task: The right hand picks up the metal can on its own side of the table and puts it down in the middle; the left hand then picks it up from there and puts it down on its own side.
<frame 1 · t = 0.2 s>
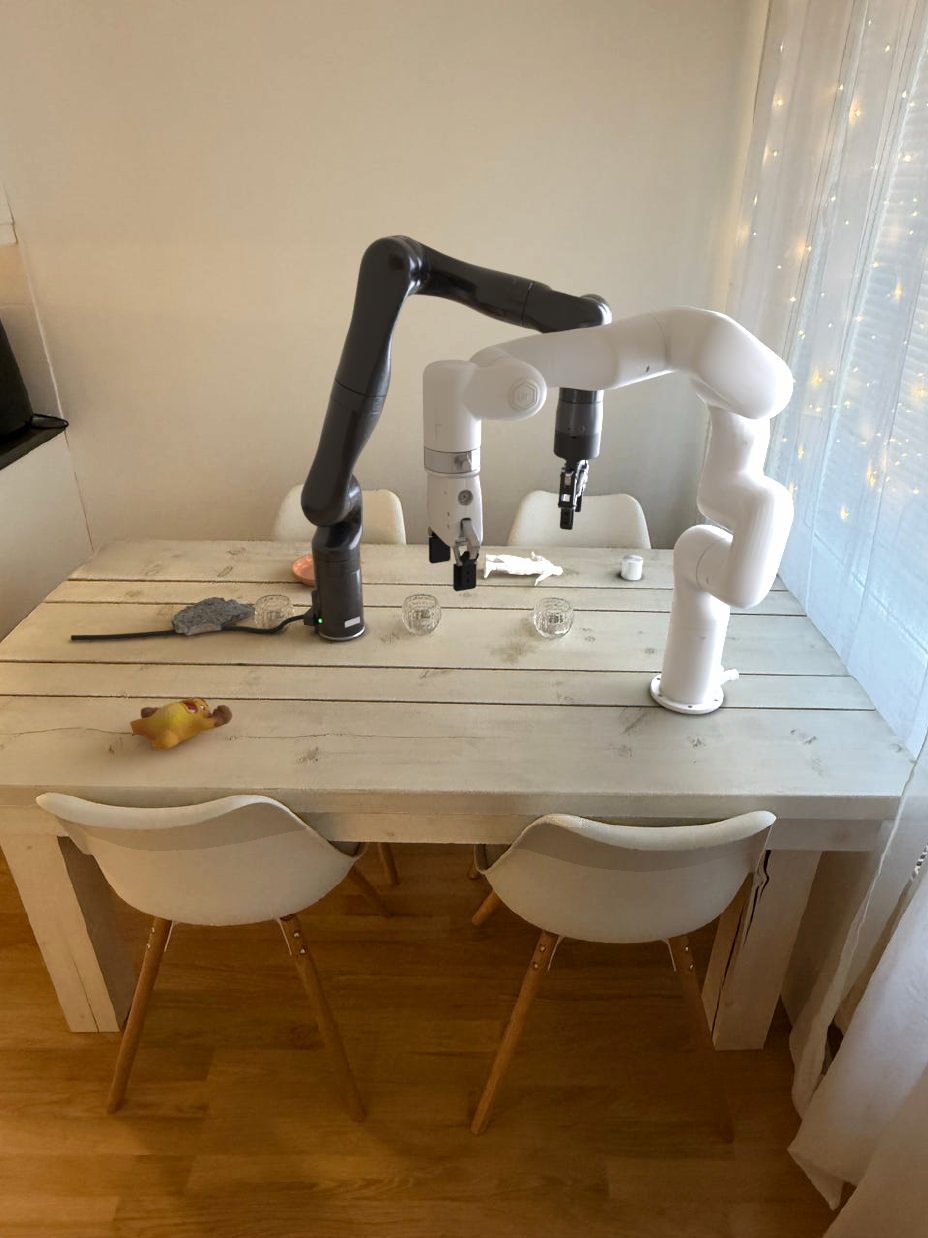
left hand: (570, 519, 140), 29 cm above the table, tool pointing down, fingers open, 8 cm apart
right hand: (451, 574, 116), 31 cm above the table, tool pointing down, fingers open, 9 cm apart
stone slab: (211, 622, 168), on the table
toy: (184, 734, 134), on the table
figurine: (522, 575, 189), on the table
saucer: (327, 577, 187), on the table
can: (631, 576, 189), on the table
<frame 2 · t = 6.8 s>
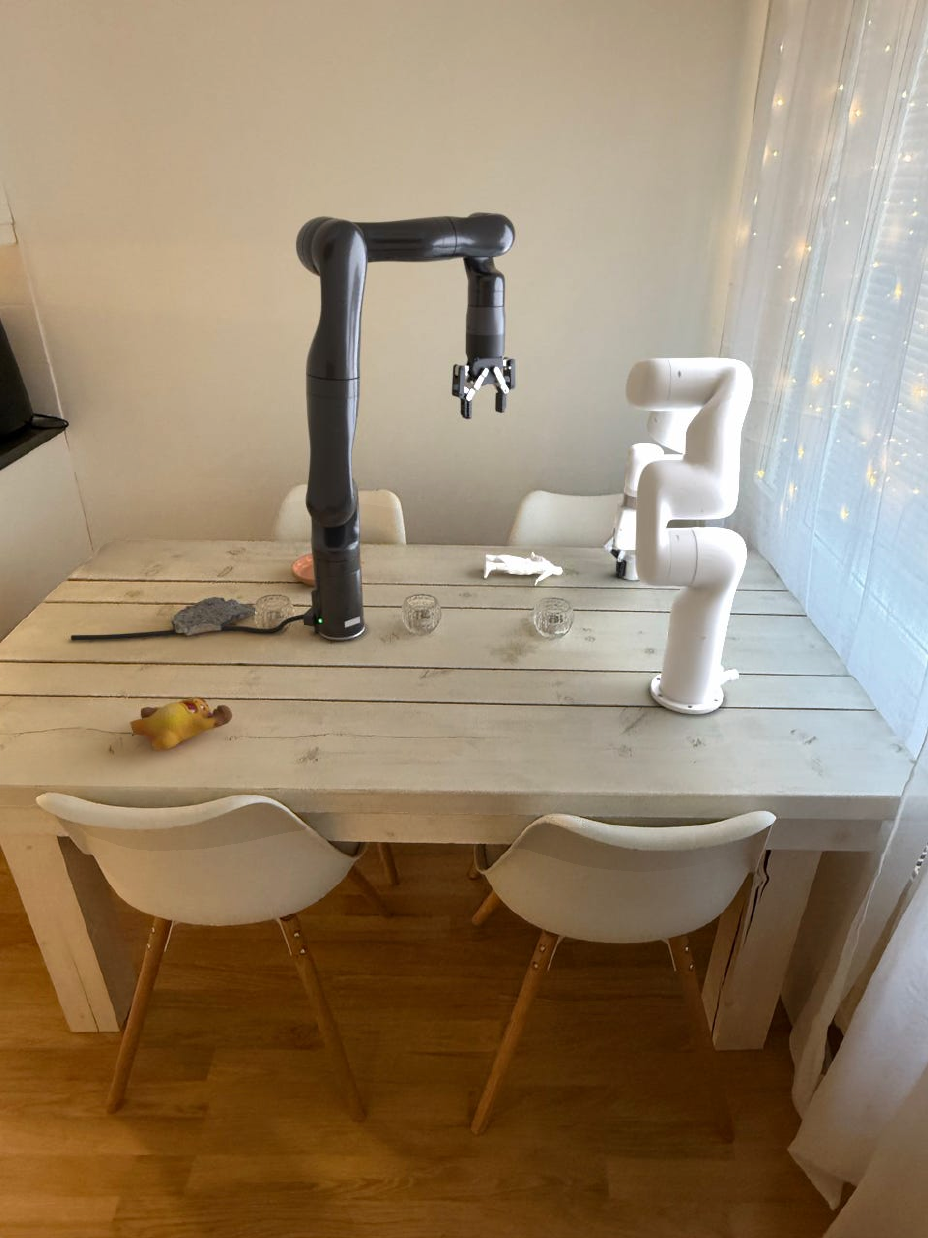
left hand: (483, 415, 162), 39 cm above the table, tool pointing down, fingers open, 8 cm apart
right hand: (631, 574, 189), 0 cm above the table, tool pointing down, fingers closed on can, 4 cm apart
can: (631, 576, 189), on the table, touching right hand
everything else where it was.
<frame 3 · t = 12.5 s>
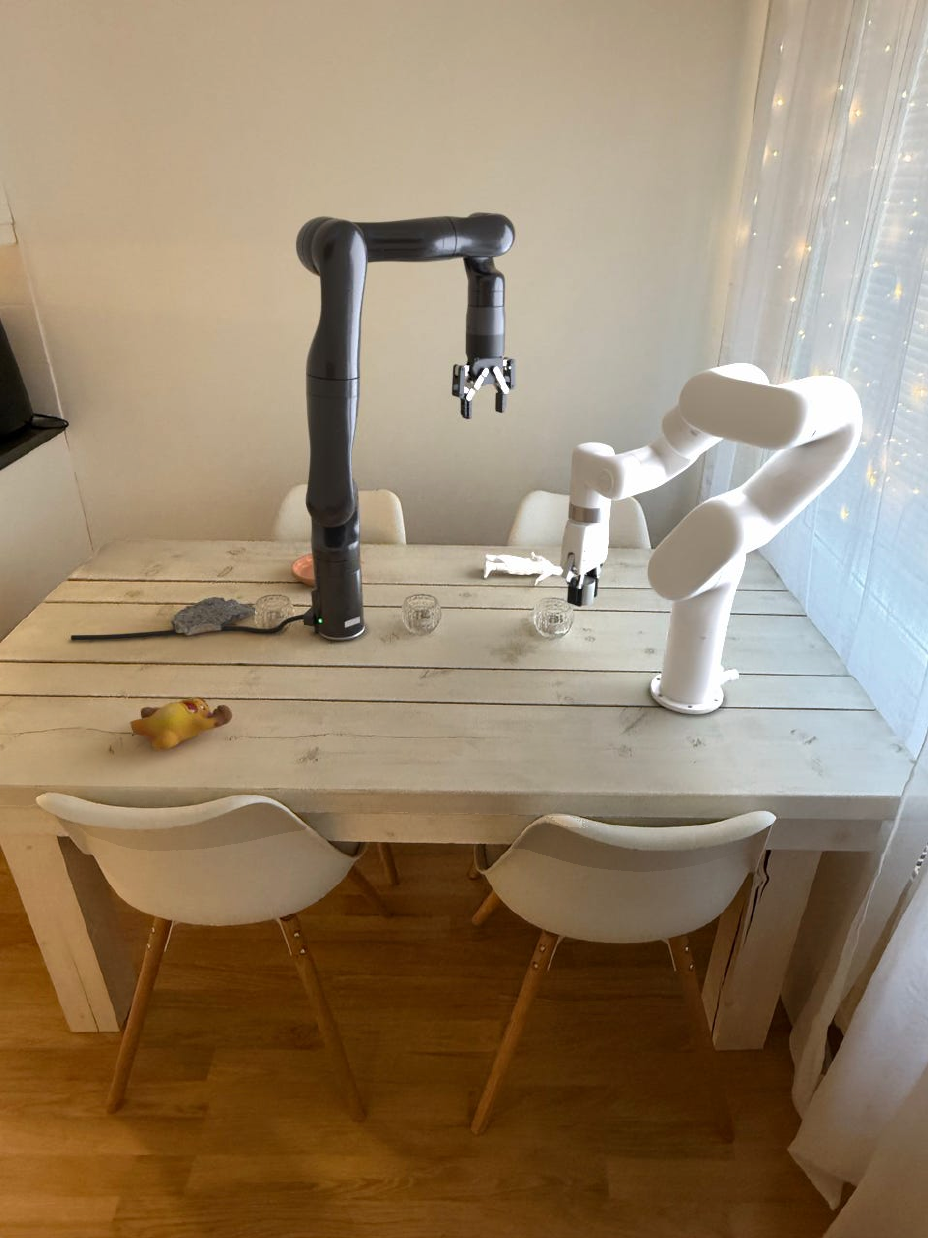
left hand: (483, 415, 162), 39 cm above the table, tool pointing down, fingers open, 8 cm apart
right hand: (582, 598, 159), 9 cm above the table, tool pointing down, fingers closed on can, 4 cm apart
can: (581, 600, 159), point 9 cm above the table, touching right hand
everything else where it was.
when the right hand's fingers open (1 cm above the table, at t = 18.6 s): can stays where it is, on the table.
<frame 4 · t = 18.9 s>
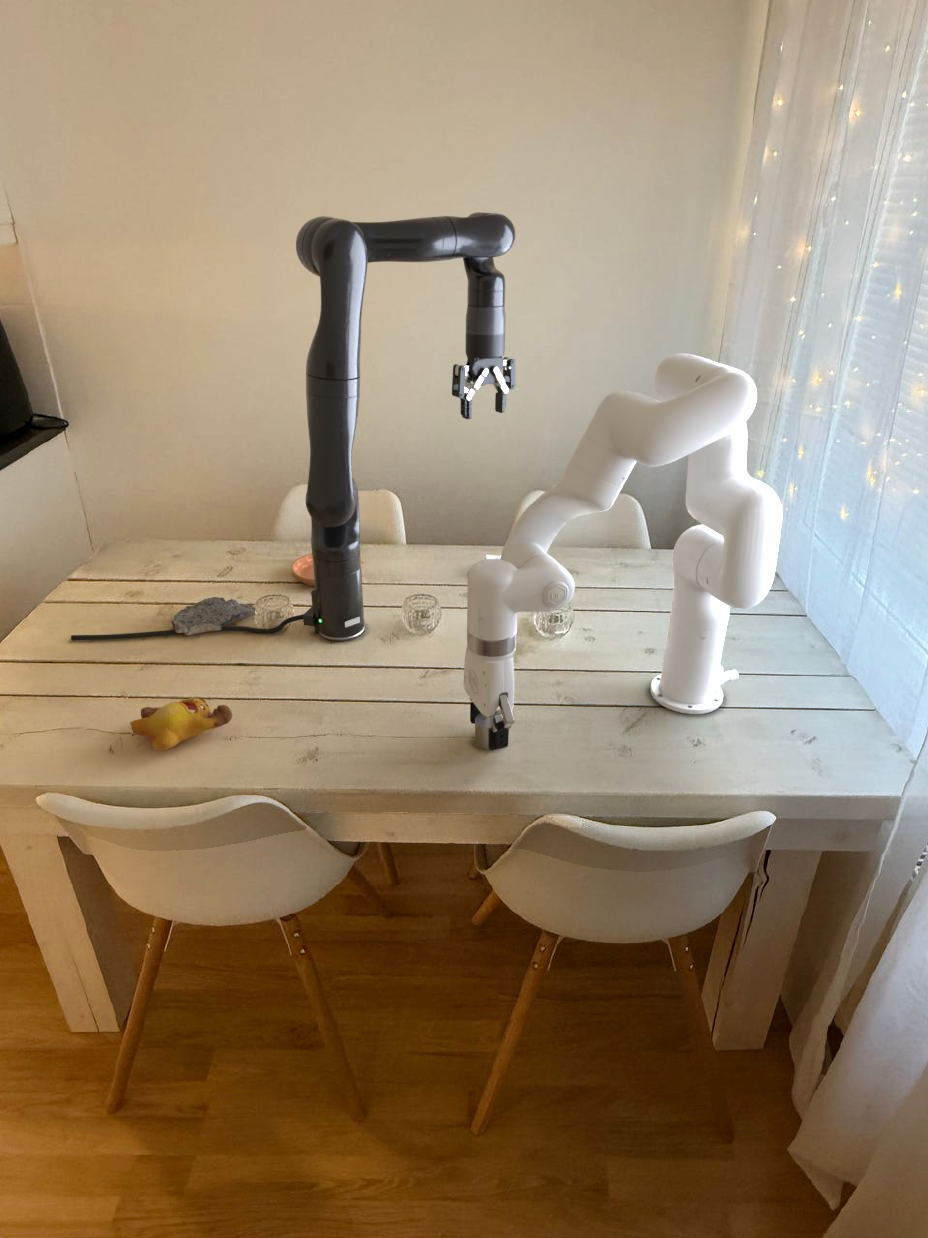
left hand: (483, 415, 162), 39 cm above the table, tool pointing down, fingers open, 8 cm apart
right hand: (488, 733, 132), 2 cm above the table, tool pointing down, fingers open, 7 cm apart
can: (488, 741, 133), on the table
everything else where it was.
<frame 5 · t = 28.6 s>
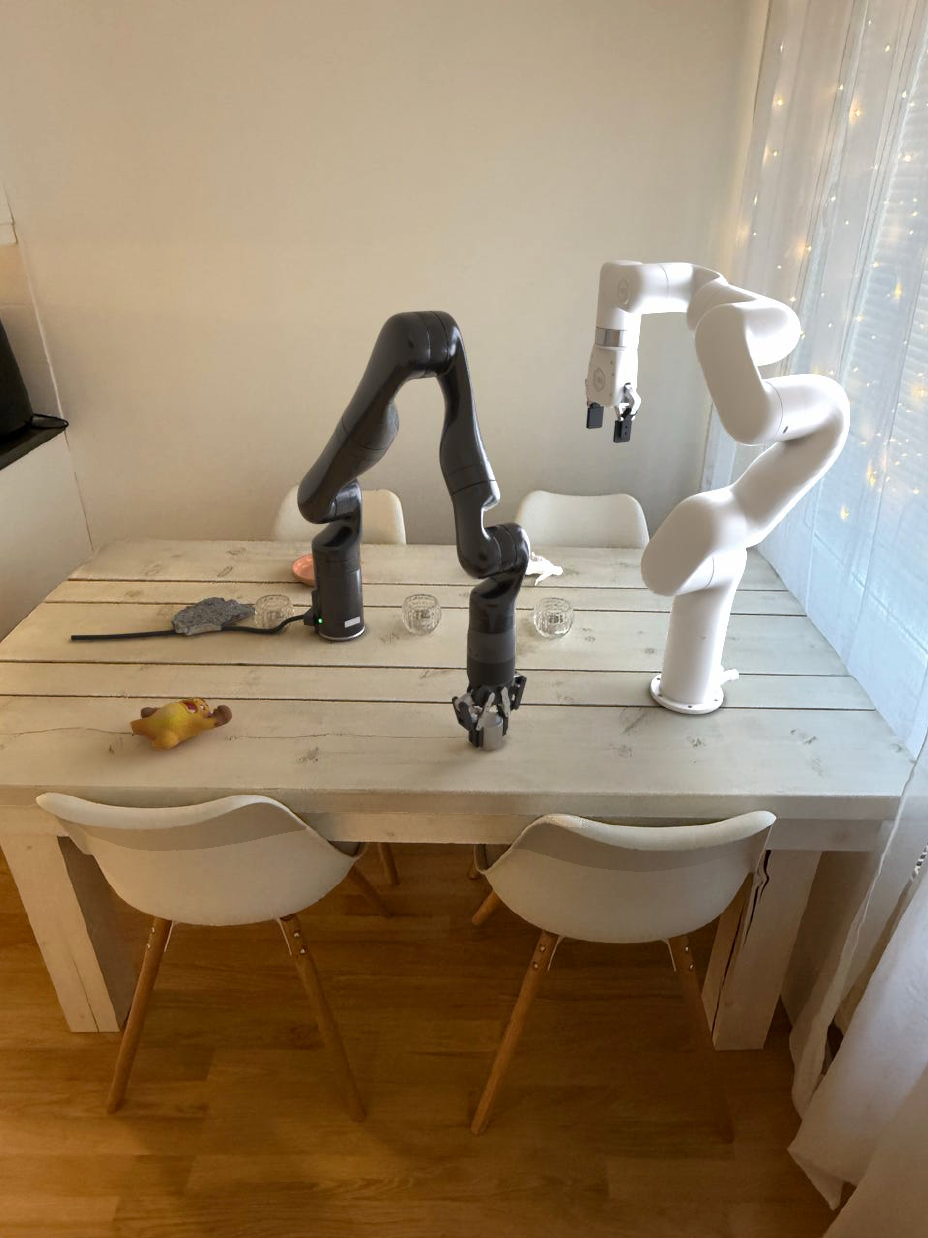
left hand: (488, 738, 133), 1 cm above the table, tool pointing down, fingers closed on can, 4 cm apart
right hand: (607, 434, 150), 40 cm above the table, tool pointing down, fingers open, 9 cm apart
can: (488, 741, 133), on the table, touching left hand
everything else where it was.
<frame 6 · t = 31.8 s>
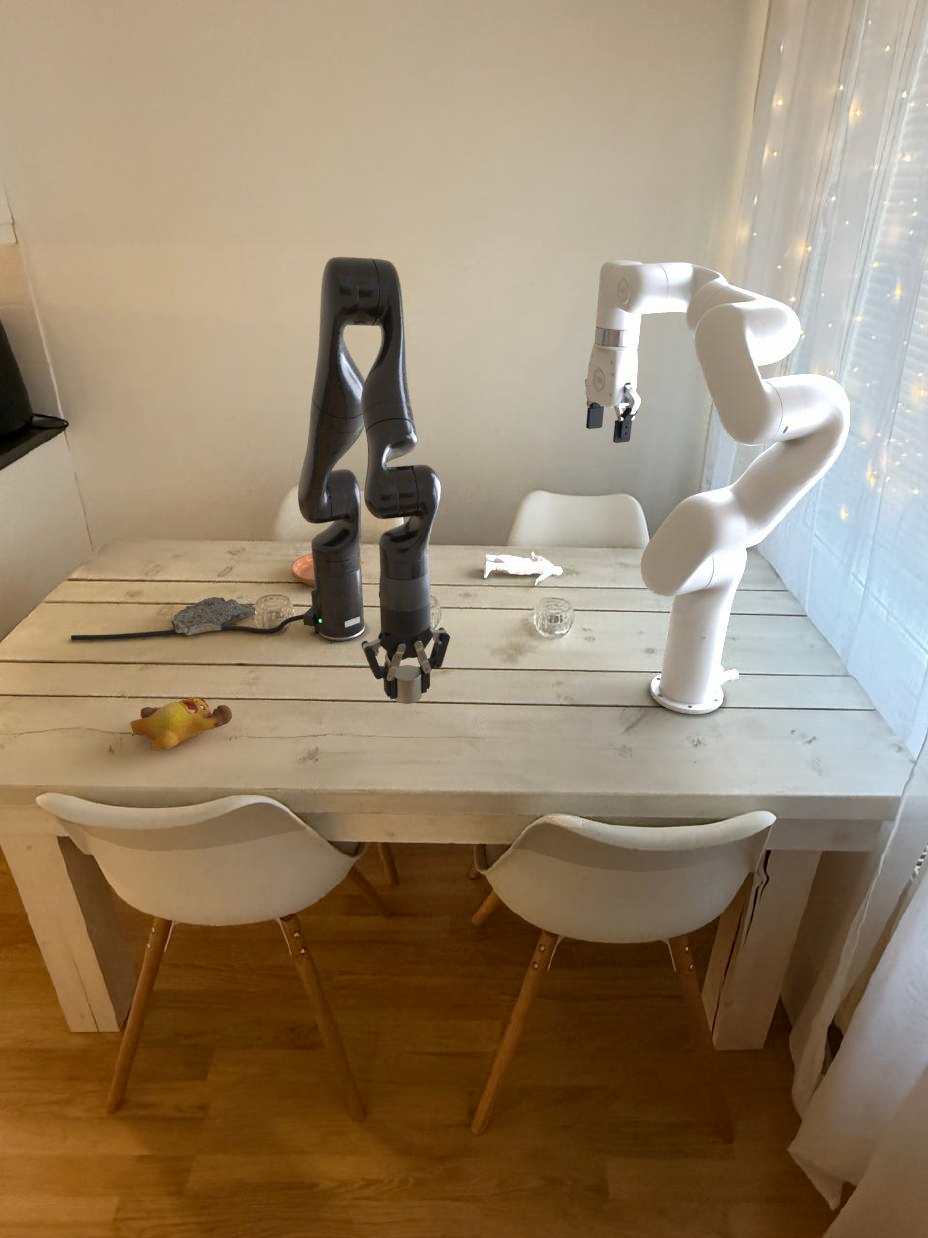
left hand: (407, 693, 129), 9 cm above the table, tool pointing down, fingers closed on can, 4 cm apart
right hand: (607, 434, 150), 40 cm above the table, tool pointing down, fingers open, 9 cm apart
can: (407, 696, 129), point 9 cm above the table, touching left hand
everything else where it was.
when the left hand's fingers open (1 cm above the table, at t = 35.4 s): can stays where it is, on the table.
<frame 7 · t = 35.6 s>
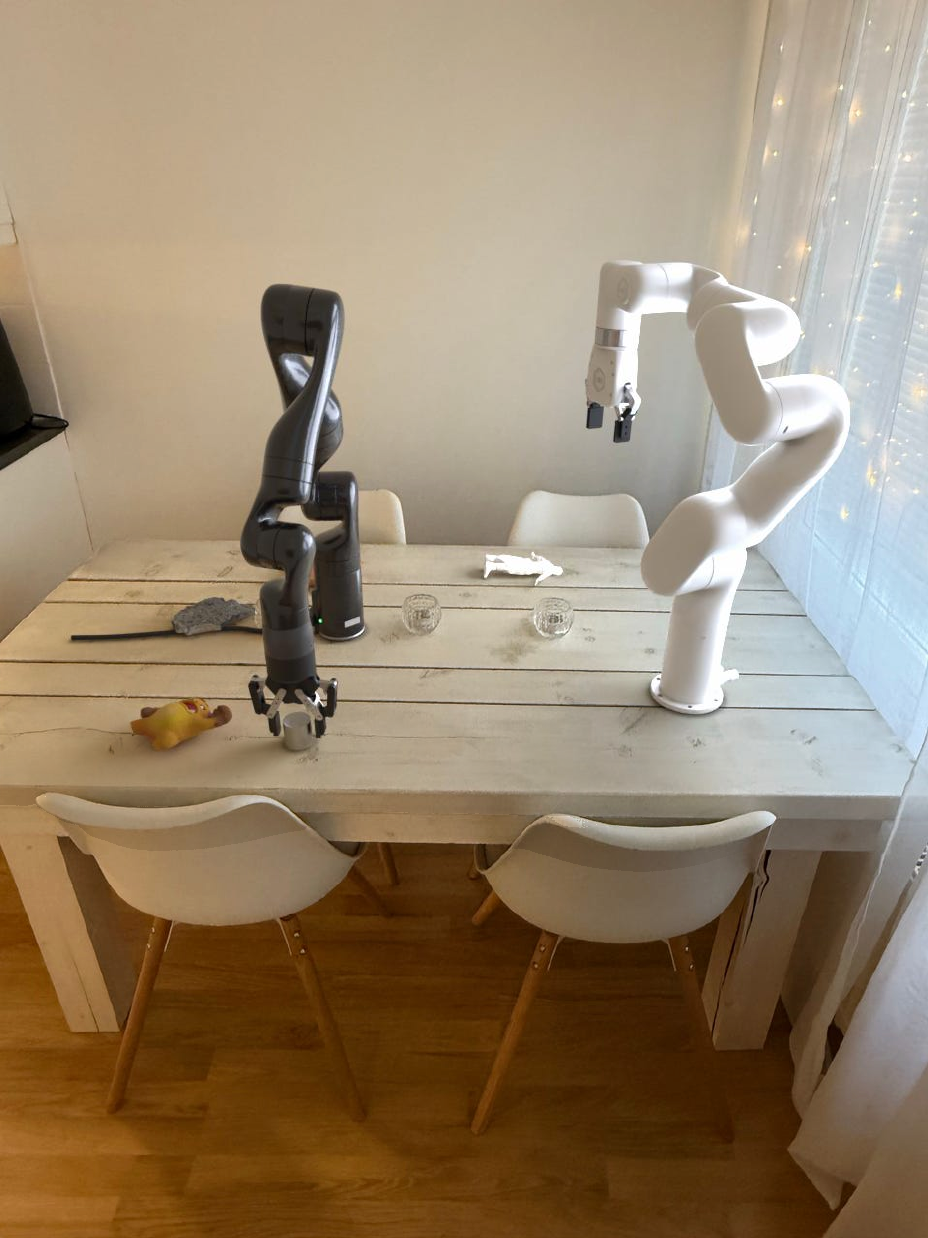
left hand: (298, 734, 132), 2 cm above the table, tool pointing down, fingers open, 6 cm apart
right hand: (607, 434, 150), 40 cm above the table, tool pointing down, fingers open, 9 cm apart
can: (299, 742, 133), on the table
everything else where it was.
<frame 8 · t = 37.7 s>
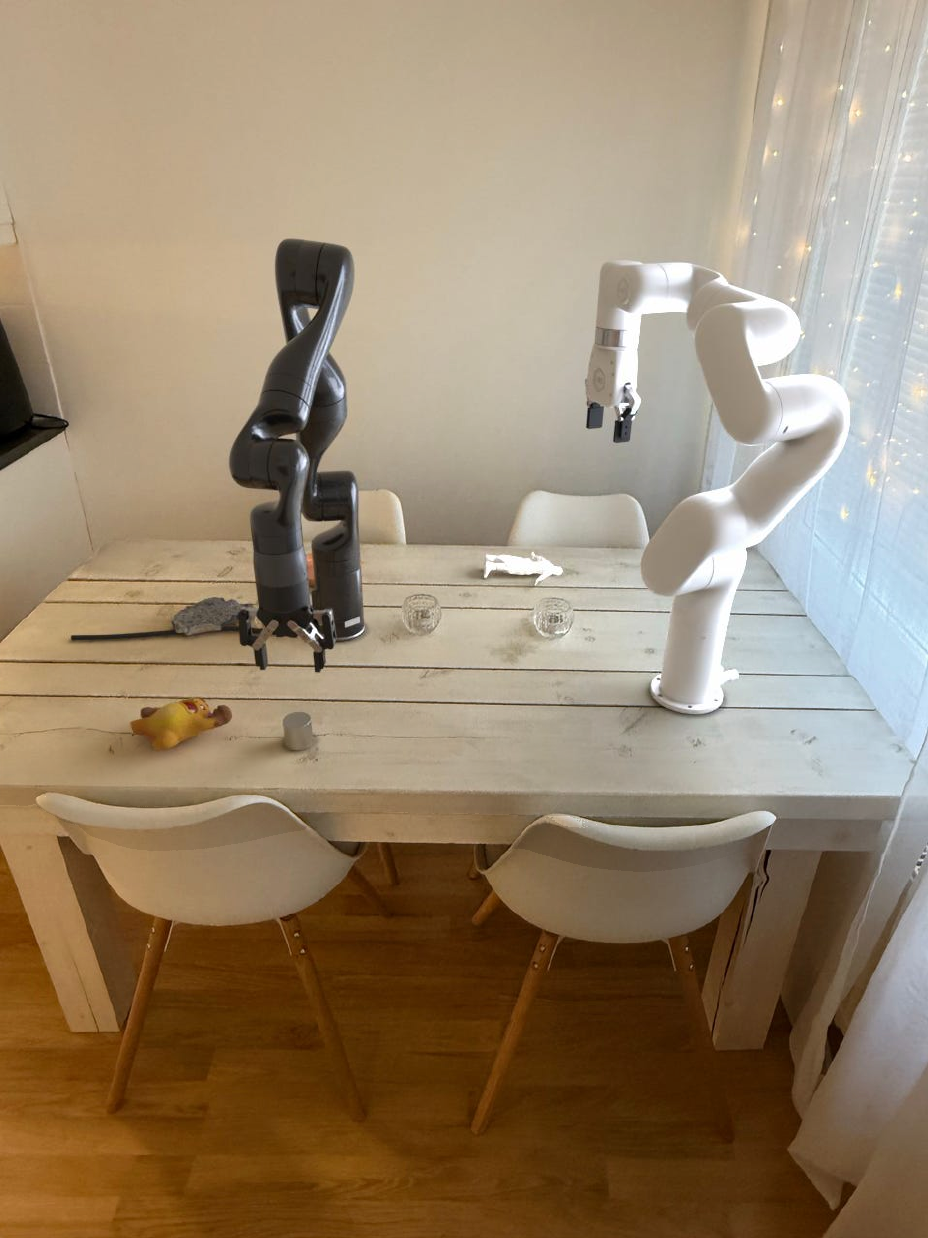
left hand: (291, 668, 126), 14 cm above the table, tool pointing down, fingers open, 8 cm apart
right hand: (607, 434, 150), 40 cm above the table, tool pointing down, fingers open, 9 cm apart
nothing on the table moved.
at the end: can inside the target area (0.0 cm from its centre), on the table; can tilted 0°; the two hands never held the can at the same time; the left hand is holding nothing; the right hand is holding nothing; can at rest at the end (0.0 cm/s) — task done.
